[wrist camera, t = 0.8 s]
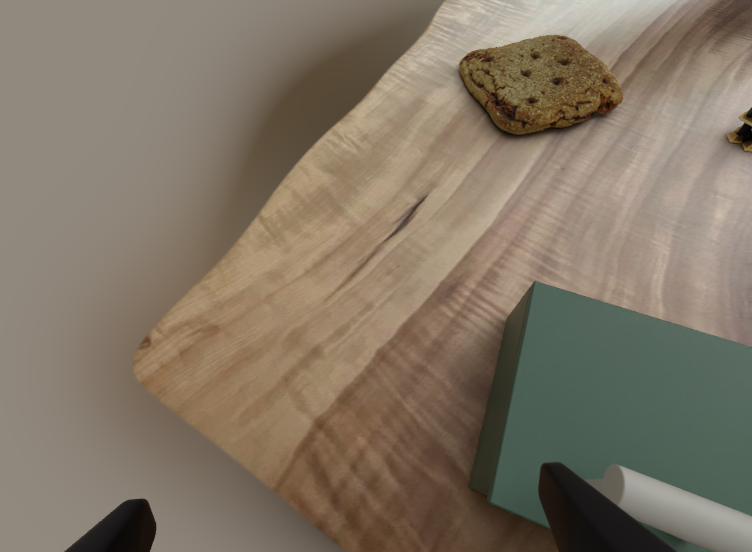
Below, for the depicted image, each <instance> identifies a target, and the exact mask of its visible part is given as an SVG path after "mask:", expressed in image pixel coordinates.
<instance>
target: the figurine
mask: <svg viewBox="0 0 752 552" xmlns="http://www.w3.org/2000/svg"><path fill="white" fill-rule="evenodd" d="M739 119H740V120H741V121H743V122H745V123H744V124H743V126H742V127H739V128H737V129H736V131H737V132H735V133H729V134H728V135H727V137H728V139H729V142H732V143H742V146H743V148H744V150H745V151H749V152H752V130H751V129H752V108H751V109H750V110H749V111H747V112H745V113H744V114H742V115H741V116H740V117H739Z"/></svg>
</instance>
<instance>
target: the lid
mask: <svg viewBox="0 0 752 552" xmlns="http://www.w3.org/2000/svg"><path fill="white" fill-rule="evenodd" d="M548 462H560V463H562V464H564V465H565V466H567V467H568V468H569V469H570V470H572V471H573V472H574V473H576V474H577V475H578V476H580V477H581V478H582V479H583V480H585V481H586V482H587V483H589V484H590V485H591V486H593V487H594V488H595V489H596V490H598V491H599V492H600V493H602V494H603V495H604V496H606V497H607V498H608V499H609V500H611V501H612V502H613V503H615V504H616V505H617V506H619V507H620V508H621V509H622V510H624V511H625V512H626V513H628V514H629V515H630V516H632V517H633V518H634V519H636V520H637V521H638V522H639V523H641V524H642V525H643V526H645V527H646V528H647V529H649V530H650V531H651V532H652V533H654V534H655V535H656V536H658V537H659V538H660V539H662V540H663V541H664V542H665V543H667V544H668V545H669V546H671V547H672V548H673V549H675V550H676V551H677V552H752V347H749V346H746V345H743V344H739V343H736V342H733V341H730V340H726V339H723V338H720V337H717V336H713V335H710V334H707V333H703V332H700V331H697V330H694V329H690V328H687V327H684V326H681V325H677V324H674V323H671V322H667V321H664V320H661V319H658V318H654V317H651V316H648V315H644V314H641V313H638V312H635V311H631V310H628V309H625V308H622V307H618V306H615V305H612V304H608V303H605V302H602V301H599V300H595V299H592V298H589V297H586V296H582V295H579V294H576V293H572V292H569V291H566V290H563V289H559V288H556V287H553V286H549V285H546V284H543V283H540V282H536V281H535V282H534V283H533V284H532V286H531V288H530V293H529V298H528V303H527V308H526V313H525V317H524V322H523V327H522V332H521V337H520V342H519V347H518V351H517V356H516V361H515V366H514V371H513V376H512V380H511V385H510V390H509V395H508V400H507V405H506V410H505V414H504V419H503V424H502V429H501V434H500V439H499V443H498V448H497V453H496V458H495V463H494V468H493V473H492V477H491V482H490V487H489V492H488V497H487V503H489V504H491V505H493V506H496V507H498V508H500V509H503V510H505V511H507V512H510V513H512V514H514V515H517V516H519V517H521V518H523V519H526V520H528V521H530V522H533V523H535V524H537V525H540V526H542V527H544V528H547V529H549V530H551V528H550V526H549V523H548V520H547V518H546V515H545V512H544V510H543V507H542V504H541V502H540V498H539V494H538V485H539V477H540V468H541V465H542V464H543V463H548Z"/></svg>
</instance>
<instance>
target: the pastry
mask: <svg viewBox="0 0 752 552" xmlns="http://www.w3.org/2000/svg"><path fill="white" fill-rule="evenodd" d="M459 71H460V74H461V76H462V77H463V79H464V81H465V85H466V86H467V88H468V89H469V91H470V93H471V94H472V95H473V96H474V97H475V98H476V100H477V101H478V102H480V103H481V105H483V106H484V107H485V109H486V110H487V112H488V113H489V114H490V116H491V118H492V120H493V121H494V123H495V124H496V126H498V127H499V128H500V129H502V130H504V131H506V132H509V133H511V134H516V135H522V134H526V133H527V134H529V133H532V132H536V131H543V130H544V128H549V127H559V128H561V127H568V126H571V125H573V124H575V123H578V122H582V121H584V120H587V119H589V118H590V117H591V112H595V111H599V113H601V114H603V113H611V111H612V110H613V109H615V108H616V107H617V105H618V104H620V103H621V102H622V99H623V96H622V92H621V87H620V85H619V83H618V82H617V80H616V78H615V77H614V76H613V75H612V74H611V72H610V71H609V69H608V67H607V66H606V65H605V64H604V63H603V62H602V61H601V60H599V59H598V58H596V57H595V56H593V55H592V54H590V53H589V52H588V51H587V50H585V49H584V48H583V47H582V46H581V45H580V44H579V43H578V42H577V41H575V40H574V39H571V38H569V37H566V36H560V35H547V36H542V37H541V36H540V37H536V38H533V39H526V40H523V41H520V42H517V43H512V44H509V45H505V46H502V47H499V48H497V47H496V48H488V49H480V50H475V51H472V52H470V53H468V54H467V55H466V56H465V57H464V58H463V59H462V60H461V61H460V63H459Z"/></svg>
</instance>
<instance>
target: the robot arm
mask: <svg viewBox="0 0 752 552" xmlns="http://www.w3.org/2000/svg"><path fill="white" fill-rule="evenodd" d="M538 494H539V498H540V502H541V504H542V507H543V510H544V512H545V515H546V518H547V520H548V523H549V526H550V528H551V531H552V534H553V536H554V539H555V542H556V544H557V547H558V550H559V552H677V551H676V550H675V549H673V548H672V547H671V546H669V545H668V544H667V543H665V542H664V541H663V540H662V539H660V538H659V537H658V536H656V535H655V534H654V533H652V532H651V531H650V530H649V529H647V528H646V527H645V526H643V525H642V524H641V523H639V522H638V521H637V520H636V519H634V518H633V517H632V516H630V515H629V514H628V513H626V512H625V511H624V510H622V509H621V508H620V507H619V506H617V505H616V504H615V503H613V502H612V501H611V500H609V499H608V498H607V497H606V496H604V495H603V494H602V493H600V492H599V491H598V490H596V489H595V488H594V487H593V486H591V485H590V484H589V483H587V482H586V481H585V480H583V479H582V478H581V477H580V476H578V475H577V474H576V473H574V472H573V471H572V470H570V469H569V468H568V467H567V466H565V465H564V464H562V463H560V462H548V463H543V464H542V465H541V468H540V477H539V485H538ZM155 534H156V522H155V519H154V516H153V514H152V511H151V508H150V505H149V503H148V501H147V500H146V499H132V500H127V501H125V502H123V503H122V504H120V505H119V506H118V507H117V508H116V509H115V510H113V511H112V512H111V513H110V514H109V515H107V516H106V517H105V518H104V519H103V520H102V521H100V522H99V523H98V524H97V525H95V526H94V527H93V528H92V529H91V530H89V532H87V533H86V534H85V535H84V536H82V537H81V538H80V539H79V540H78V541H76V542H75V543H74V544H73V545H72V546H70V547H69V548H68V549H67V550H66V551H65V552H150V550H151V547H152V544H153V541H154V538H155Z"/></svg>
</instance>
